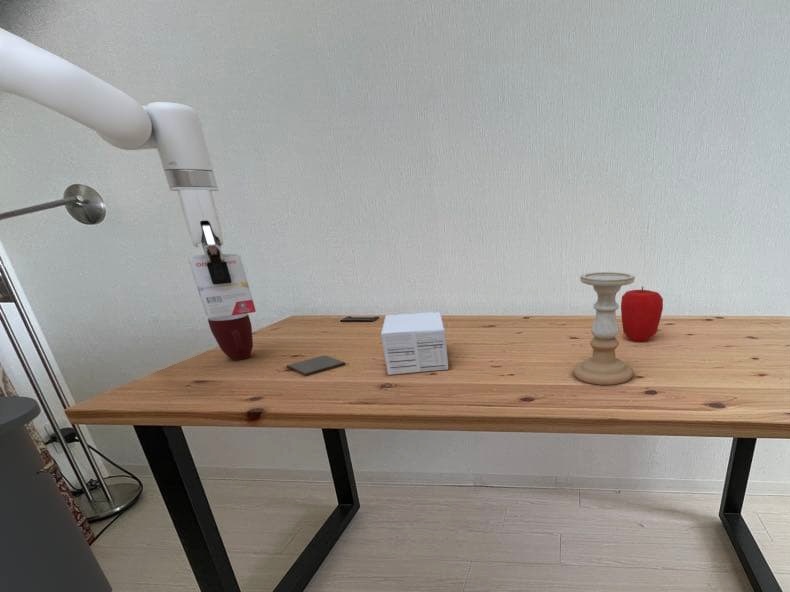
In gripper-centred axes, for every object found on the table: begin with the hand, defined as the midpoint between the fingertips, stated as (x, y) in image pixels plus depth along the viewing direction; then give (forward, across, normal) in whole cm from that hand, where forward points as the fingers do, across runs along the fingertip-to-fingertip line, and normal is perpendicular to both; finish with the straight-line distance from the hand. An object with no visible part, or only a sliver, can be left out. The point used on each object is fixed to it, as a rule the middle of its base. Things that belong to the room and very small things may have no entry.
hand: (221, 280), depth 92 cm
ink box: (+7, 0, 0) cm, 7 cm away
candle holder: (+20, +49, +60) cm, 80 cm away
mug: (+20, -11, 0) cm, 23 cm away
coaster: (+20, +6, +13) cm, 24 cm away
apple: (+20, +35, +86) cm, 95 cm away
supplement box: (+20, +16, +33) cm, 42 cm away
